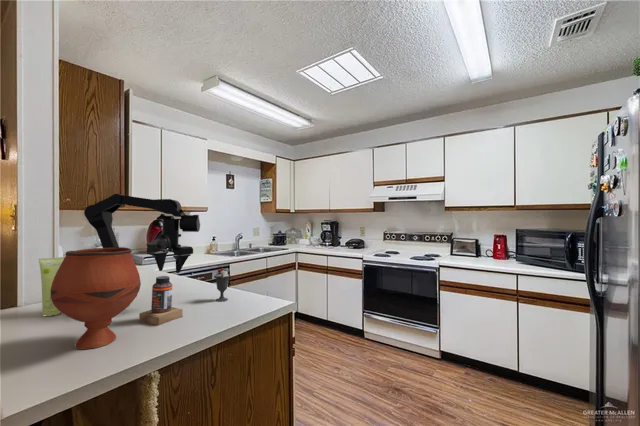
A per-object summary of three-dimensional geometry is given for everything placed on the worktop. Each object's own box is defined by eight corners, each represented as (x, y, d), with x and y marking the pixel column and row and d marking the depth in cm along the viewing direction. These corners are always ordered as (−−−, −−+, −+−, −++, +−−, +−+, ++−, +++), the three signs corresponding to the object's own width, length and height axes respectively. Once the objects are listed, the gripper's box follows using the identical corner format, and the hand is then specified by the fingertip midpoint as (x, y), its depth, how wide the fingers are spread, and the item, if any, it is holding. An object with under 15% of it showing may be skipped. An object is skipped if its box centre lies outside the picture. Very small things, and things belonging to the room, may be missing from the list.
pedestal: (139, 320, 91) (139, 312, 91) (163, 312, 100) (164, 305, 100) (158, 325, 88) (158, 316, 88) (182, 316, 96) (182, 308, 96)
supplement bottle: (146, 312, 91) (148, 278, 92) (160, 307, 97) (161, 274, 98) (162, 314, 90) (163, 279, 91) (175, 308, 96) (176, 275, 96)
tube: (49, 317, 92) (52, 258, 93) (35, 317, 93) (38, 258, 93) (66, 312, 98) (69, 256, 99) (53, 311, 98) (55, 256, 99)
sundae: (210, 301, 114) (211, 264, 114) (218, 297, 121) (219, 262, 121) (225, 302, 113) (226, 265, 113) (232, 298, 119) (233, 263, 120)
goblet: (126, 323, 89) (129, 245, 90) (149, 340, 77) (152, 250, 77) (41, 343, 74) (46, 248, 75) (53, 368, 62) (59, 255, 63)
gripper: (133, 231, 105) (132, 273, 104) (169, 233, 98) (168, 277, 97) (160, 230, 115) (159, 268, 115) (194, 232, 108) (193, 272, 107)
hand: (169, 271), depth 108 cm, fingers open, 9 cm apart
